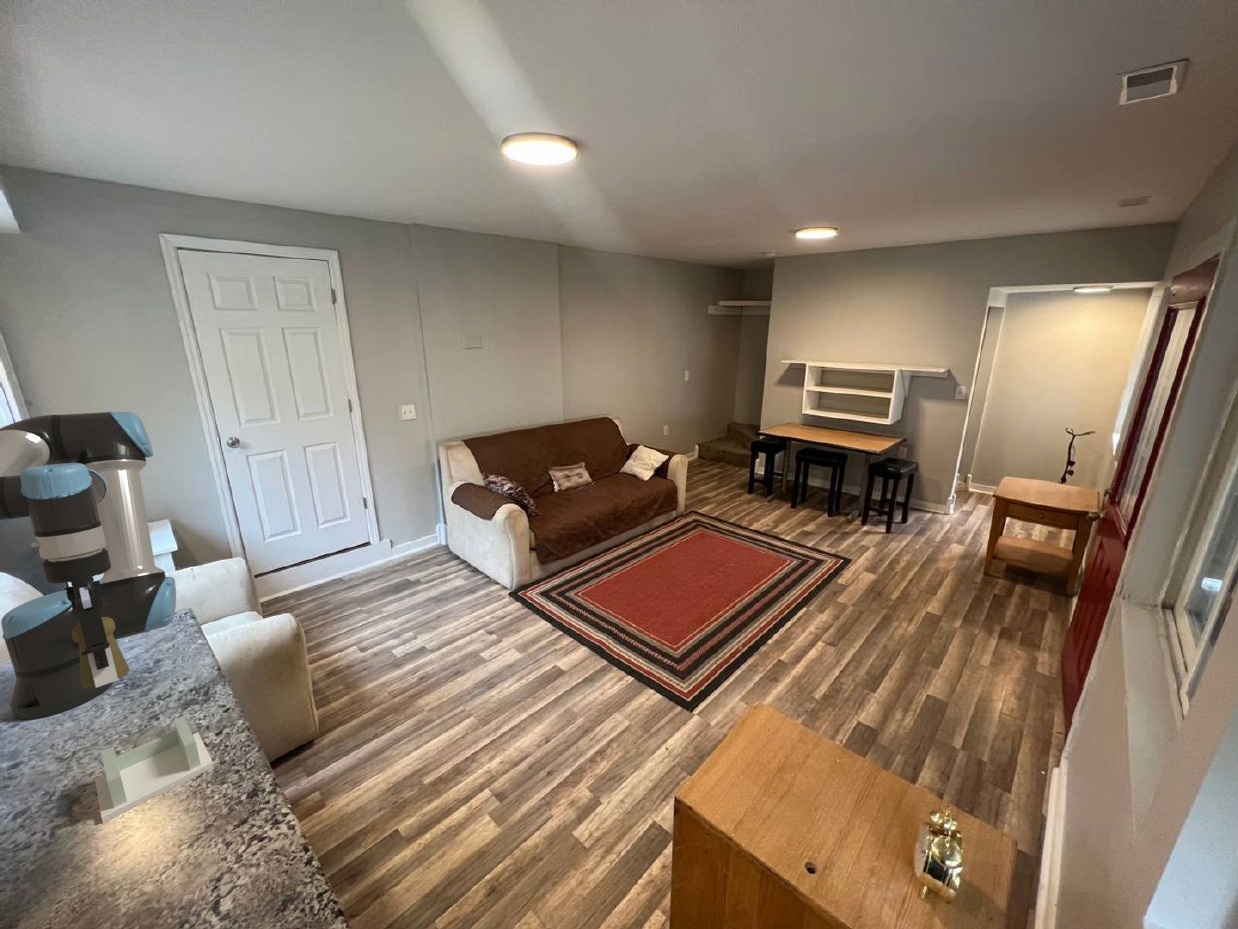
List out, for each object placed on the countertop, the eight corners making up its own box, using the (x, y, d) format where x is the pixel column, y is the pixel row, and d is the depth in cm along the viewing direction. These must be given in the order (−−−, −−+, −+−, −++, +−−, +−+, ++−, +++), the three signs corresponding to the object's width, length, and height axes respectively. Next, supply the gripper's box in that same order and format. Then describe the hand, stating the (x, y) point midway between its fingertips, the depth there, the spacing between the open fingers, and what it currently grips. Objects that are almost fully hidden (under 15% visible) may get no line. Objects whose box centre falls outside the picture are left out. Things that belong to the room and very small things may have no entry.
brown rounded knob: (96, 689, 82) (81, 631, 80) (71, 686, 83) (56, 628, 81) (138, 669, 88) (125, 613, 86) (114, 665, 89) (100, 611, 87)
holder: (96, 783, 84) (88, 754, 83) (199, 736, 95) (193, 710, 93) (103, 823, 77) (94, 792, 75) (213, 767, 87) (207, 738, 86)
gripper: (42, 549, 85) (73, 666, 89) (40, 574, 73) (75, 709, 77) (103, 537, 90) (129, 648, 94) (110, 559, 78) (140, 685, 82)
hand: (105, 675), depth 86 cm, fingers closed on brown rounded knob, 6 cm apart
